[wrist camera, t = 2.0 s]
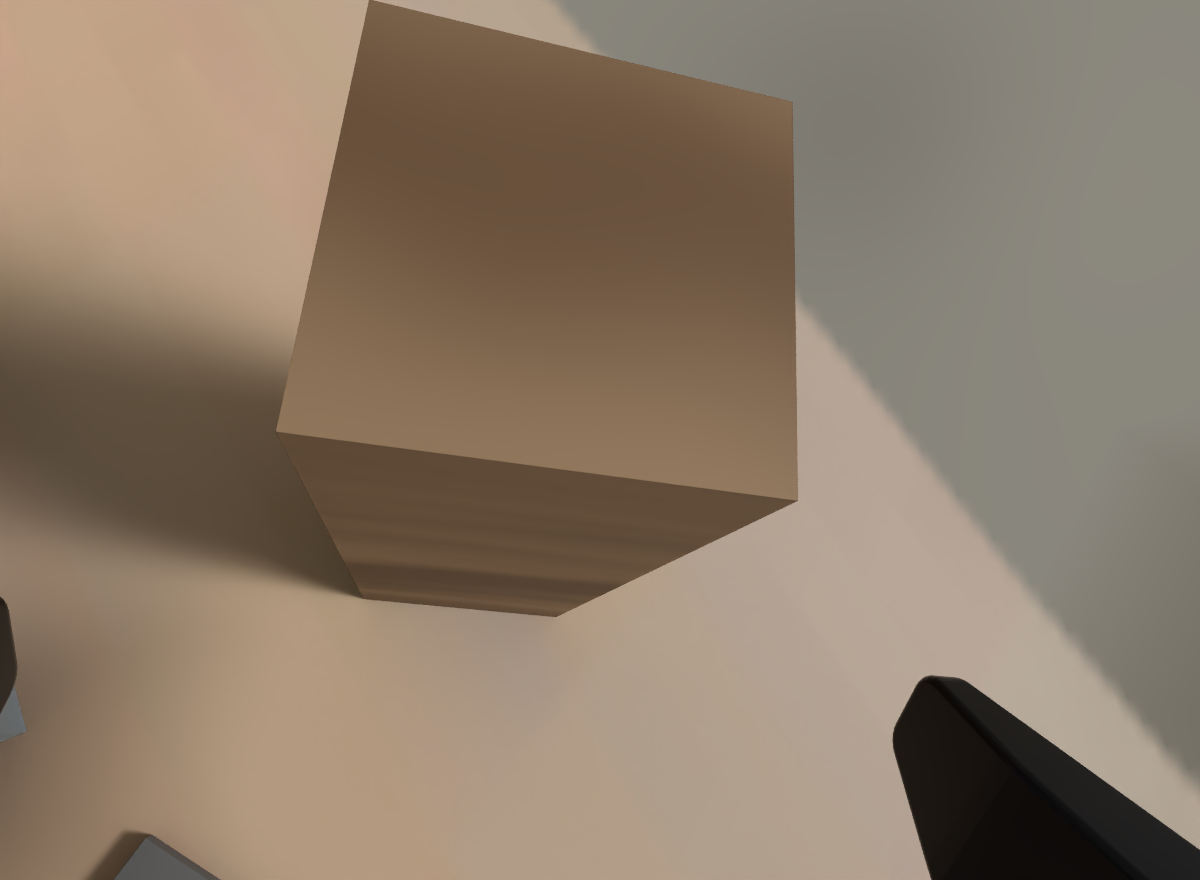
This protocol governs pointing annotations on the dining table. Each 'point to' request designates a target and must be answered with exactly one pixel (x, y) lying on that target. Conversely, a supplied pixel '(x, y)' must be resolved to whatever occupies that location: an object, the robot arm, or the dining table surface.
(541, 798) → the dining table surface
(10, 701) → the blue base block
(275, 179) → the dining table surface
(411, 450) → the walnut pillar
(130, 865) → the card
